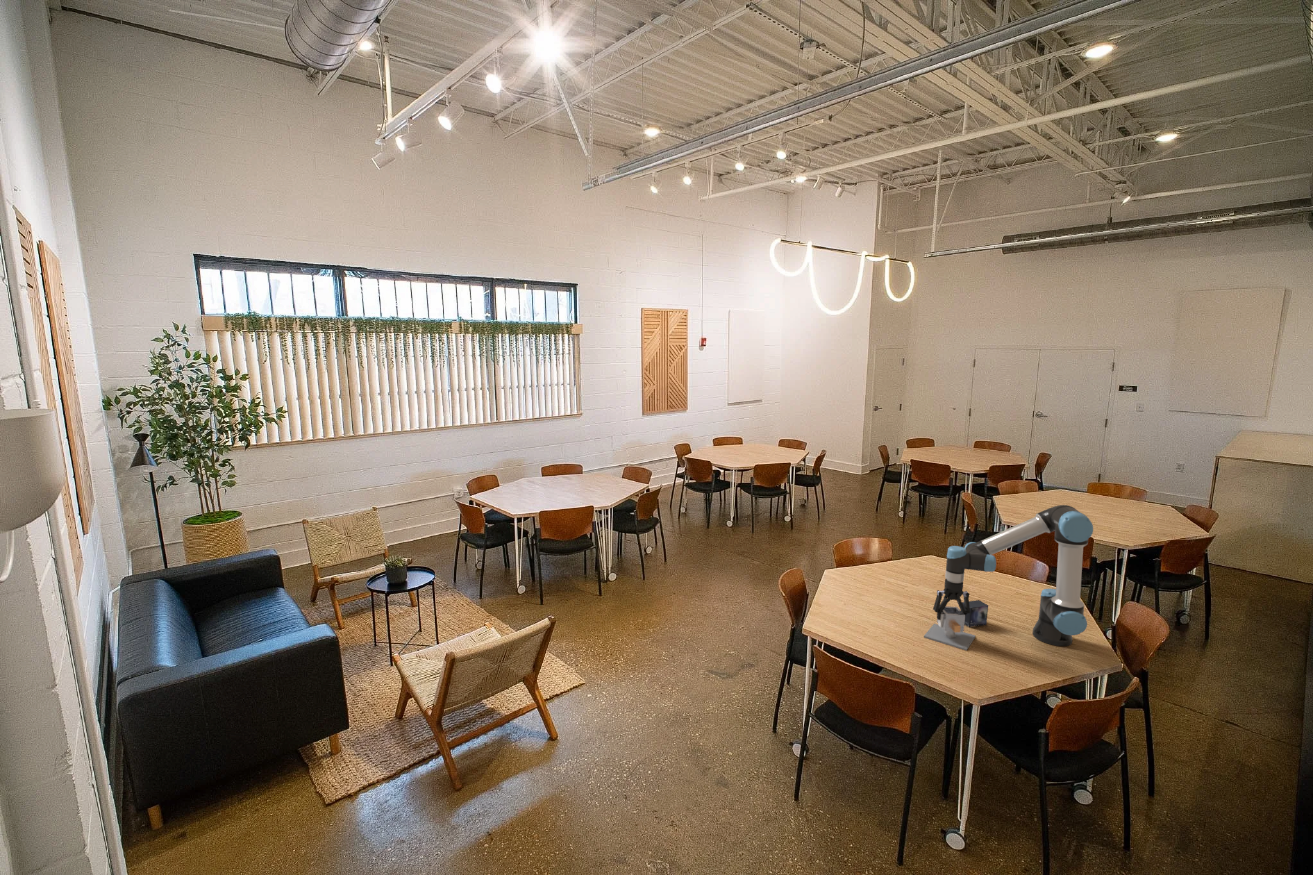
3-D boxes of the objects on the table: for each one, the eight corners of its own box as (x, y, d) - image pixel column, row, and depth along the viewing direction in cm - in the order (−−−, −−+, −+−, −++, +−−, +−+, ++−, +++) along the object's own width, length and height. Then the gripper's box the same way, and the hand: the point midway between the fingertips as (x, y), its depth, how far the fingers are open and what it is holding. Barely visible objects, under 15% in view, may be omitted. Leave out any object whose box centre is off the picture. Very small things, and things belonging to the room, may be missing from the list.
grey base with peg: (975, 637, 266) (976, 621, 265) (966, 650, 254) (967, 634, 253) (934, 624, 278) (935, 609, 277) (923, 637, 266) (924, 621, 265)
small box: (969, 628, 275) (971, 607, 273) (959, 622, 281) (960, 601, 279) (987, 625, 278) (989, 604, 276) (976, 619, 284) (978, 599, 282)
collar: (955, 622, 269) (956, 606, 268) (966, 634, 258) (968, 618, 257) (936, 622, 270) (938, 606, 269) (947, 634, 259) (949, 617, 257)
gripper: (974, 577, 265) (969, 623, 268) (927, 576, 266) (923, 621, 270) (982, 583, 258) (977, 630, 261) (933, 582, 259) (930, 629, 262)
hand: (950, 626), depth 265 cm, fingers closed on collar, 8 cm apart
